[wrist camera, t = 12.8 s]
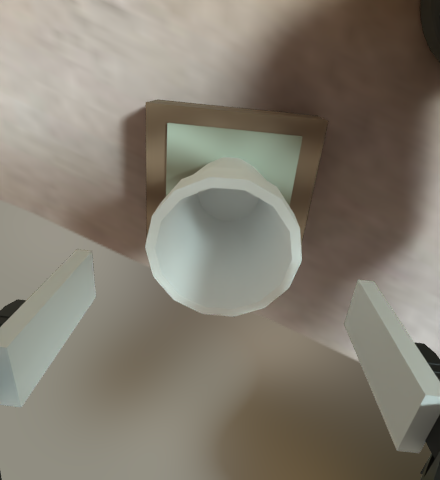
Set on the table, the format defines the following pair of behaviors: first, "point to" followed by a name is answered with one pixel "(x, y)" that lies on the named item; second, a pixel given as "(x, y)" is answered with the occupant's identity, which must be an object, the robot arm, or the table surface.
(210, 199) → the foam cup
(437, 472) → the robot arm
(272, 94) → the table surface
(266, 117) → the walnut plinth
